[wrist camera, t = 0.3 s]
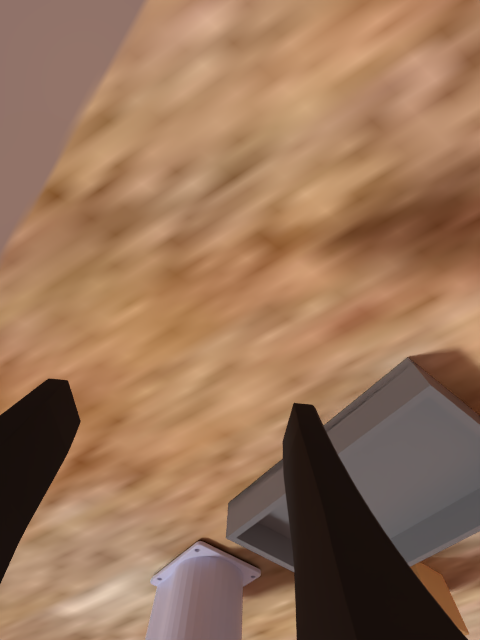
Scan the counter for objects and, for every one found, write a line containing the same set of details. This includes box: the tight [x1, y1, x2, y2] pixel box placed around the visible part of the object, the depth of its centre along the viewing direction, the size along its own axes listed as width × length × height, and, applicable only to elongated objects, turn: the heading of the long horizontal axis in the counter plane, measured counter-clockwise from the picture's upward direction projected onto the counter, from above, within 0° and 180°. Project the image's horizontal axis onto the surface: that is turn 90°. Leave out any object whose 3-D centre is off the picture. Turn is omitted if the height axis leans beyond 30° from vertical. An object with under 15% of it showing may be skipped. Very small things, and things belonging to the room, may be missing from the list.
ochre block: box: [410, 562, 469, 636], centre depth 30 cm, size 5×5×5 cm
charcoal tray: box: [226, 357, 480, 572], centre depth 25 cm, size 20×14×3 cm
